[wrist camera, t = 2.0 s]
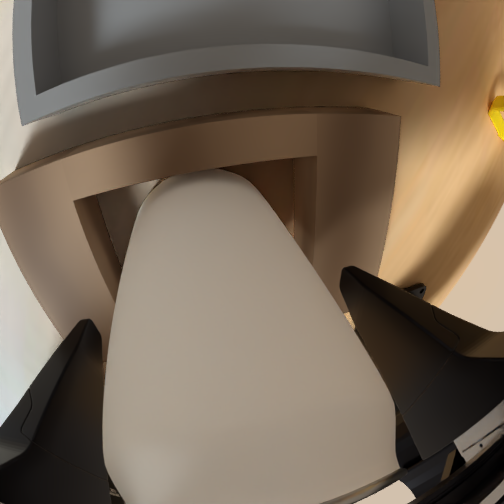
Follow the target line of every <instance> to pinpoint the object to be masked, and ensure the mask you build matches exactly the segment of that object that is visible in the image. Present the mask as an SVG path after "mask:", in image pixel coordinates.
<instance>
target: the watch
mask: <svg viewBox="0 0 504 504" xmlns="http://www.w3.org/2000/svg"><path fill="white" fill-rule="evenodd" d="M499 111H504V96H497V97H496V98H495V99H494V101H493V102H492V105H491V107H490V110H489V112H488V115H489V117H490V118H491V120H492V122H493V124H494V126H495V128H496V130H497V133H498V136H499V137H500V138H501V139H502V140H503V141H504V120H503V118H502V116H501V114H500V112H499Z"/></svg>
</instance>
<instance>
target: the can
mask: <svg viewBox="0 0 504 504" xmlns="http://www.w3.org/2000/svg"><path fill="white" fill-rule="evenodd" d="M102 429H103V454H104V462H105V466H106V469H107V471H108V474H109V476H110V478H111V480H112V481H113V483H114V485H115V487H116V488H117V490H118V492H119V493H120V495H121V497H122V498H123V500H124V501H125V503H126V504H354V503H356V502H358V501H360V500H362V499H364V498H367V497H368V496H370V495H373V494H374V493H377V492H378V491H380V490H382V489H384V488H386V487H388V486H389V485H391V484H392V483H394V482H396V481H398V480H399V479H401V478H402V477H404V476H405V475H406V474H407V469H406V468H400V467H399V464H398V461H397V458H396V451H395V434H396V416H395V406H394V402H393V399H392V397H391V395H390V392H389V390H388V388H387V386H386V384H385V383H384V381H383V379H382V377H381V375H380V373H379V372H378V370H377V368H376V366H375V365H374V363H373V361H372V360H371V358H370V356H369V355H368V353H367V351H366V350H365V348H364V346H363V345H362V343H361V341H360V340H359V338H358V336H357V335H356V333H355V331H354V330H353V328H352V327H351V325H350V323H349V322H348V320H347V319H346V317H345V316H344V314H343V312H342V311H341V309H340V308H339V306H338V305H337V303H336V301H335V300H334V298H333V297H332V295H331V294H330V292H329V291H328V289H327V288H326V286H325V284H324V283H323V281H322V280H321V278H320V277H319V275H318V274H317V272H316V271H315V269H314V268H313V266H312V265H311V263H310V262H309V260H308V259H307V258H306V256H305V255H304V253H303V252H302V250H301V249H300V247H299V246H298V244H297V243H296V241H295V240H294V239H293V237H292V236H291V234H290V233H289V231H288V230H287V229H286V227H285V226H284V224H283V223H282V221H281V220H280V219H279V217H278V216H277V214H276V213H275V212H274V210H273V209H272V208H271V206H270V205H269V203H268V202H267V201H266V199H265V198H264V197H263V196H262V194H261V193H260V192H259V191H258V190H257V189H256V187H255V186H254V185H252V184H251V183H250V182H249V181H248V180H247V179H245V178H244V177H242V176H240V175H238V174H235V173H232V172H229V171H225V170H220V169H208V170H202V171H196V172H191V173H185V174H180V175H175V176H171V177H169V178H167V179H166V180H164V181H163V182H161V183H160V184H159V185H158V186H156V187H155V188H154V189H153V190H152V191H151V192H150V194H149V195H148V196H147V197H146V199H145V200H144V202H143V204H142V205H141V207H140V210H139V212H138V214H137V217H136V220H135V224H134V227H133V230H132V234H131V237H130V241H129V245H128V249H127V253H126V257H125V261H124V265H123V269H122V274H121V278H120V283H119V288H118V293H117V298H116V303H115V309H114V314H113V320H112V326H111V333H110V340H109V347H108V355H107V364H106V374H105V385H104V400H103V426H102Z"/></svg>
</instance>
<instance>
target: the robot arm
mask: <svg viewBox="0 0 504 504" xmlns="http://www.w3.org/2000/svg"><path fill="white" fill-rule="evenodd" d="M339 288H340V292H341V294H342V296H343V299H344V301H345V303H346V306H347V308H348V310H349V313H350V315H351V317H352V320H353V322H354V324H355V326H356V327H355V330H354V331H355V333H356V335H357V336H358V338H359V340H360V341H361V343H362V345H363V346H364V348H365V350H366V351H367V353H368V355H369V356H370V358H371V360H372V361H373V363H374V365H375V366H376V368H377V370H378V372H379V373H380V375H381V377H382V379H383V381H384V383H385V384H386V386H387V388H388V390H389V392H390V395H391V397H392V399H393V402H394V406H395V416H396V434H395V451H396V458H397V461H398V464H399V467H400V468H406V469H407V474H406V475H405V476H404V477H402V478H401V479H399V480H400V481H401V482H403V483H404V484H405V485H406V486H407V487H408V488H409V489H410V490H411V491H412V493H413V494H414V496H415V497H416V499H414V500H413V501H411V502H410V503H408V504H504V332H493V331H488V330H486V329H484V328H481V327H479V326H476V325H474V324H472V323H470V322H467V321H465V320H463V319H461V318H458V317H456V316H454V315H452V314H449V313H448V312H446V311H443V310H441V309H439V308H438V307H436V306H434V305H431V304H430V303H428V302H426V301H424V300H422V298H423V296H424V293H425V291H426V286H425V285H424V284H423V283H421V284H418V285H415V286H412V287H410V288H407V289H404V290H402V289H400V288H398V287H396V286H394V285H392V284H390V283H388V282H386V281H384V280H382V279H380V278H378V277H376V276H374V275H372V274H370V273H368V272H366V271H364V270H362V269H360V268H358V267H356V266H353V265H352V266H347V267H344V268H343V269H342V271H341V277H340V284H339ZM103 392H104V371H103V354H102V337H101V334H100V332H99V331H98V329H97V327H96V326H95V324H94V322H93V321H92V320H91V319H89V318H87V319H81V320H80V321H79V322H78V323H77V324H76V325H75V327H74V328H73V329H72V330H71V332H70V333H69V334H68V335H67V337H66V338H65V339H64V341H63V342H62V343H61V344H60V346H59V347H58V348H57V350H56V351H55V352H54V354H53V355H52V356H51V358H50V359H49V360H48V362H47V363H46V364H45V366H44V367H43V368H42V370H41V371H40V373H39V374H38V375H37V377H36V378H35V380H34V381H33V382H32V384H31V385H30V387H29V388H28V390H27V391H26V393H25V394H24V396H23V397H22V398H21V400H20V401H19V403H18V404H17V406H16V407H15V408H14V410H13V411H12V412H11V414H10V415H9V416H8V418H7V419H6V420H5V422H4V423H3V424H2V426H1V427H0V504H111V498H110V491H109V483H108V476H107V469H106V466H105V462H104V454H103V429H102V426H103Z"/></svg>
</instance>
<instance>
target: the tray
mask: <svg viewBox="0 0 504 504" xmlns="http://www.w3.org/2000/svg"><path fill="white" fill-rule="evenodd" d="M13 63H14V76H15V85H16V93H17V101H18V107H19V113H20V119H21V124H22V126H24V125H26V124H29V123H32V122H35V121H38V120H41V119H44V118H47V117H50V116H53V115H56V114H59V113H61V112H64V111H66V110H69V109H72V108H75V107H77V106H80V105H83V104H86V103H89V102H92V101H95V100H98V99H101V98H105V97H108V96H111V95H115V94H118V93H122V92H126V91H130V90H134V89H138V88H142V87H146V86H151V85H155V84H160V83H165V82H170V81H176V80H181V79H187V78H194V77H201V76H209V75H217V74H227V73H238V72H253V71H282V70H296V71H325V72H340V73H351V74H360V75H369V76H376V77H383V78H389V79H395V80H402V81H409V82H416V83H422V84H428V85H434V86H439V87H440V53H439V37H438V26H437V17H436V10H435V3H434V0H14V8H13Z"/></svg>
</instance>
